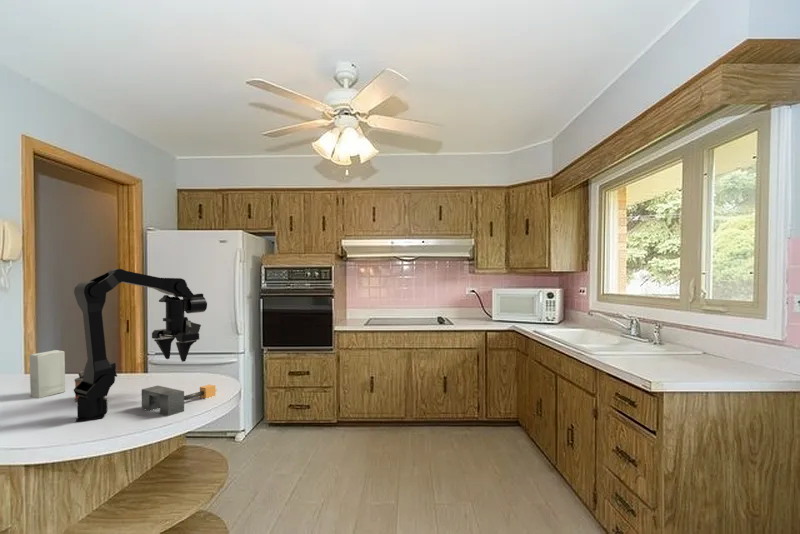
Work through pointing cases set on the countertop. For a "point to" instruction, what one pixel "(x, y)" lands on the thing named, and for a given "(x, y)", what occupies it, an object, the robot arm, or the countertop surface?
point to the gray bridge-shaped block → (163, 400)
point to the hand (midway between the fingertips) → (175, 360)
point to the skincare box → (47, 373)
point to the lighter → (79, 381)
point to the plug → (203, 392)
